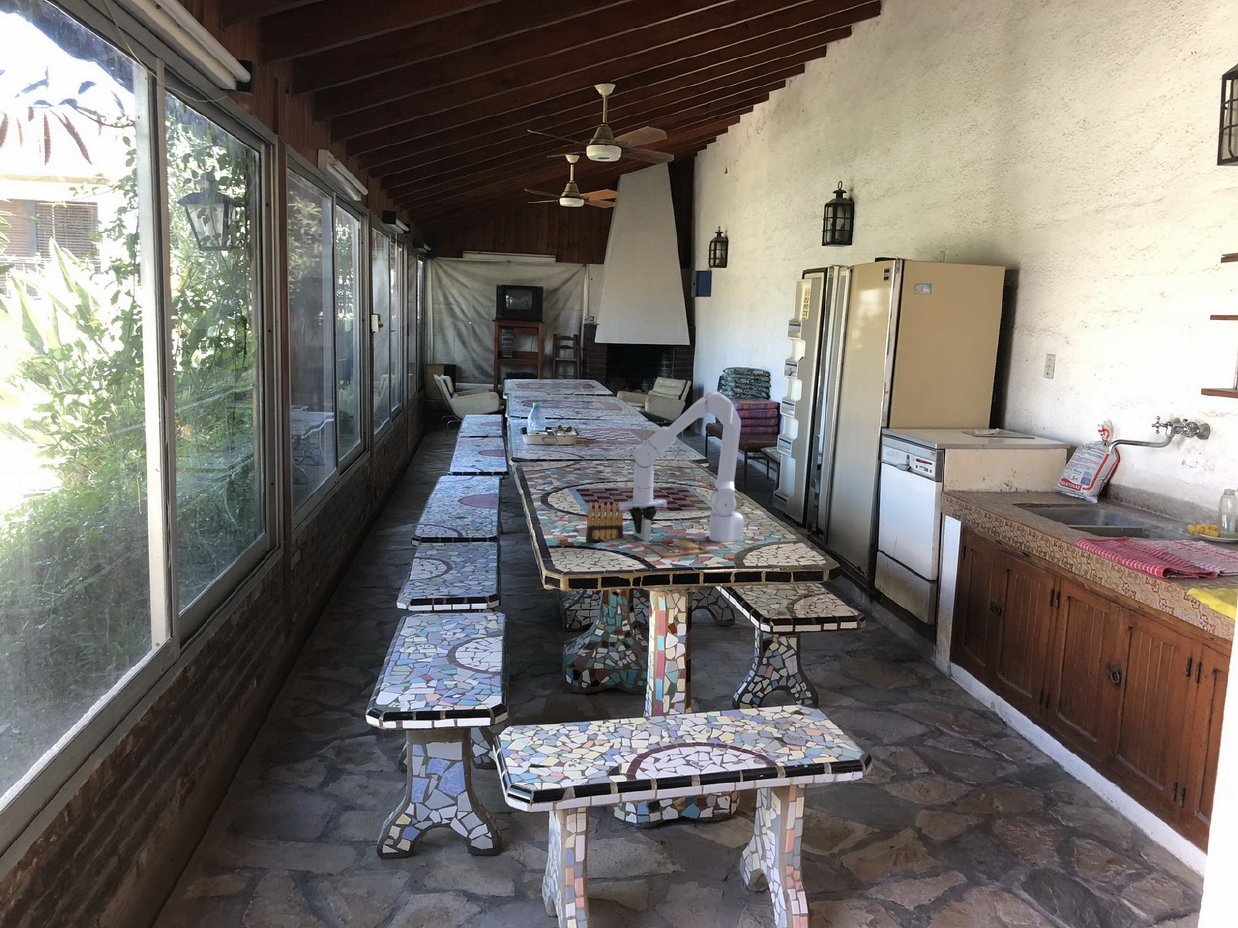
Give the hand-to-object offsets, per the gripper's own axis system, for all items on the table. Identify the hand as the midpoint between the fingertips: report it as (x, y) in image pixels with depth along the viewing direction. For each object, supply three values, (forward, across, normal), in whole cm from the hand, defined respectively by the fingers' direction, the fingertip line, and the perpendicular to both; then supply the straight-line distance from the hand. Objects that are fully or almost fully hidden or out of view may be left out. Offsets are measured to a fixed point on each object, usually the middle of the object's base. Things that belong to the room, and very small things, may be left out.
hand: (641, 532), depth 251 cm
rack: (+3, -4, +14) cm, 15 cm away
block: (+3, 0, 0) cm, 3 cm away
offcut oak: (+1, -8, +13) cm, 15 cm away
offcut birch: (+2, -8, +14) cm, 16 cm away
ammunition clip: (+3, +10, -3) cm, 11 cm away
